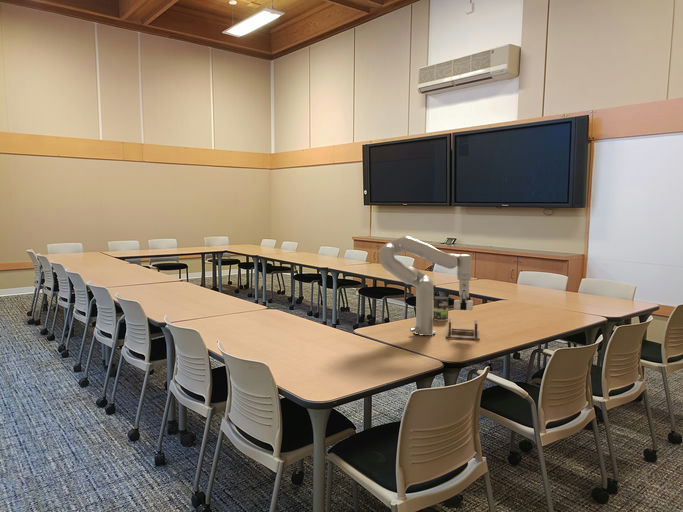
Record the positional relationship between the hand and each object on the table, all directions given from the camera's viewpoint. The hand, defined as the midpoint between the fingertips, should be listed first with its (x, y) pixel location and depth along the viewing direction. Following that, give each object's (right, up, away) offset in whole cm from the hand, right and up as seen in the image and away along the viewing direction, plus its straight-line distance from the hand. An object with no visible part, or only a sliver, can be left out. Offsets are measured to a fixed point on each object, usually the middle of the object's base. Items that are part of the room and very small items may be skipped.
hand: (463, 308), depth 267 cm
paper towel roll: (0, +2, 0) cm, 2 cm away
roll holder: (0, -15, +1) cm, 15 cm away
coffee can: (-5, -11, +39) cm, 41 cm away
